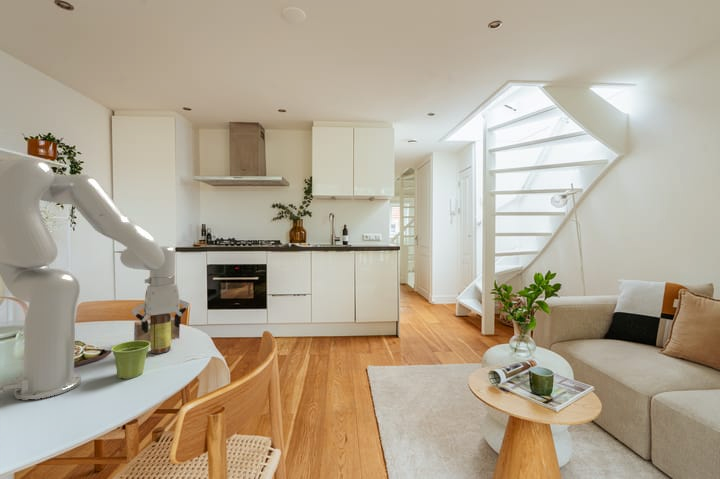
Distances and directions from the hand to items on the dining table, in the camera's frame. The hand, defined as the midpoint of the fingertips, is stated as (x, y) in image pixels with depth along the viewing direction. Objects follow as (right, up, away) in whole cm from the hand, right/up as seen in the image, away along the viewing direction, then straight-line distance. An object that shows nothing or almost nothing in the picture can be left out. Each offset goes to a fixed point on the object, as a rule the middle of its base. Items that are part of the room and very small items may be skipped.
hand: (161, 329), depth 110 cm
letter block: (-8, -8, +10) cm, 15 cm away
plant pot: (+3, -8, -18) cm, 20 cm away
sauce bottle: (0, -8, 0) cm, 8 cm away
